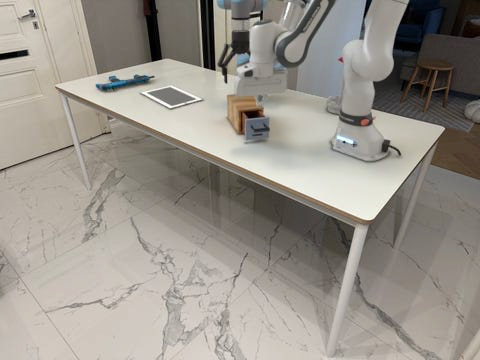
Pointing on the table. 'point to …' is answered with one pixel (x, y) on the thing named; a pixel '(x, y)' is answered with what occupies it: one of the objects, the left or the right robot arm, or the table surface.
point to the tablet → (171, 96)
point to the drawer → (254, 125)
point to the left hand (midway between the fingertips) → (240, 81)
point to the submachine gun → (123, 82)
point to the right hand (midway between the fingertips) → (260, 105)
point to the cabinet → (240, 109)
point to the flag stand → (336, 98)
